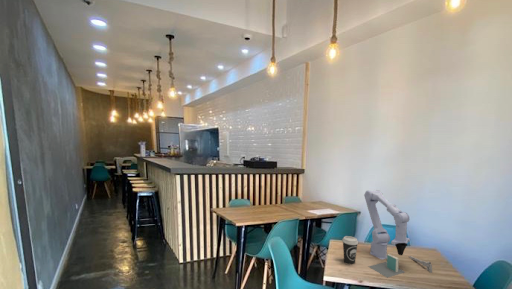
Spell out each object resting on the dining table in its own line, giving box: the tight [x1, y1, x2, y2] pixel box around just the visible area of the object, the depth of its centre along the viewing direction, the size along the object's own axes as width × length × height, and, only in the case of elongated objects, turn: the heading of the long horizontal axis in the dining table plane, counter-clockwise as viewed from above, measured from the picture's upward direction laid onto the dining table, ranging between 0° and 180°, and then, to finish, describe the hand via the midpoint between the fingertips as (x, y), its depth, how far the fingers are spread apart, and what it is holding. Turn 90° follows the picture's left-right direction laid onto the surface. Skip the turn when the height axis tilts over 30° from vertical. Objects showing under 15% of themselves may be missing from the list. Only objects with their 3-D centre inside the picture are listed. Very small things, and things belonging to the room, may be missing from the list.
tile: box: [386, 253, 400, 272], centre depth 145 cm, size 6×2×8 cm, turn 25°
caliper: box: [408, 255, 433, 274], centre depth 153 cm, size 20×1×6 cm, turn 0°
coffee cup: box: [341, 235, 359, 265], centre depth 153 cm, size 10×10×15 cm
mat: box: [367, 261, 406, 279], centre depth 145 cm, size 13×16×1 cm
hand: (400, 254), depth 147 cm, fingers closed
